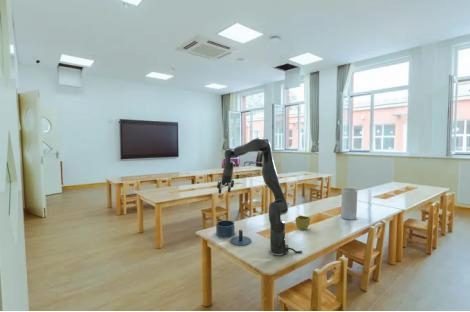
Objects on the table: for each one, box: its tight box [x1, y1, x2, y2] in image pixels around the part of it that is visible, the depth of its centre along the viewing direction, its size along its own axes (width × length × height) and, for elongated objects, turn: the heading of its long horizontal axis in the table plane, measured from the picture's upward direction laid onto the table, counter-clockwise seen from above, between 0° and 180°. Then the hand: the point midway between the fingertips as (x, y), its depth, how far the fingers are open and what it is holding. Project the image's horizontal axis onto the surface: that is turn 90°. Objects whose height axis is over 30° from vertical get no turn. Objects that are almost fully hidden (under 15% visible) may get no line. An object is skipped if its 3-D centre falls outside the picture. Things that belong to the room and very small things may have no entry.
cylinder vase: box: [340, 187, 358, 221], centre depth 221 cm, size 12×12×25 cm
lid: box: [230, 229, 252, 247], centre depth 174 cm, size 14×14×8 cm
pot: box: [215, 219, 236, 239], centre depth 187 cm, size 13×13×8 cm
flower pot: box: [295, 215, 311, 231], centre depth 197 cm, size 9×9×9 cm
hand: (224, 192), depth 198 cm, fingers open, 8 cm apart
